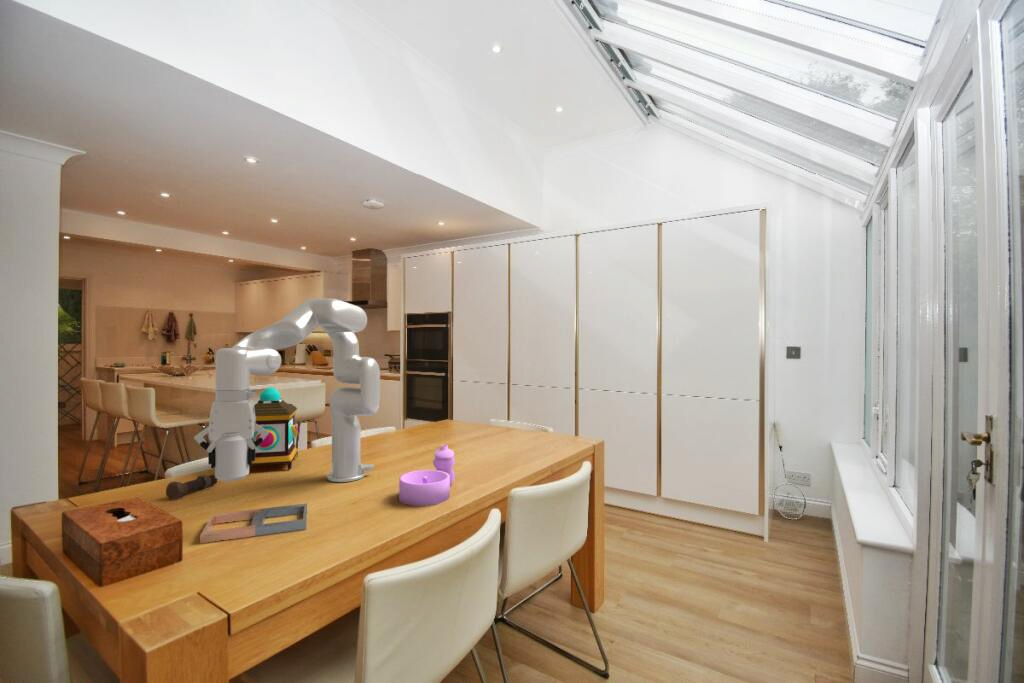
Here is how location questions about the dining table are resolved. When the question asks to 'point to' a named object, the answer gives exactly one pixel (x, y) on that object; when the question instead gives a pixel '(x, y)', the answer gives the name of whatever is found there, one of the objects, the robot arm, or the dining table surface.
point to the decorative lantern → (275, 430)
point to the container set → (429, 481)
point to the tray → (254, 523)
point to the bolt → (189, 486)
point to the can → (231, 457)
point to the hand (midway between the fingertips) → (232, 464)
